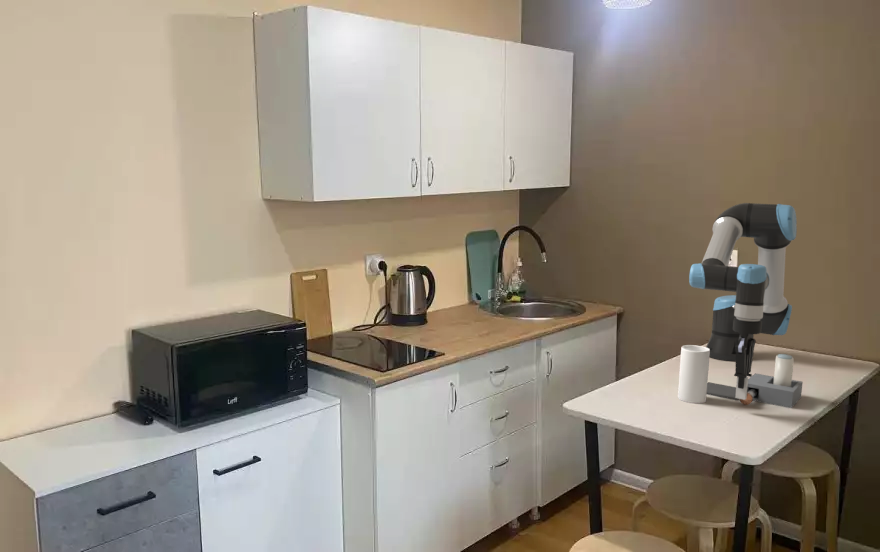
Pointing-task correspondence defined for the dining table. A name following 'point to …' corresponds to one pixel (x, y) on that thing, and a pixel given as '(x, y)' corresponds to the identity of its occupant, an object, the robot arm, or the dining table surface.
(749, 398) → the plunger
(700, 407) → the dining table surface
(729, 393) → the mat
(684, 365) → the cup
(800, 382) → the frame
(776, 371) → the cylinder
